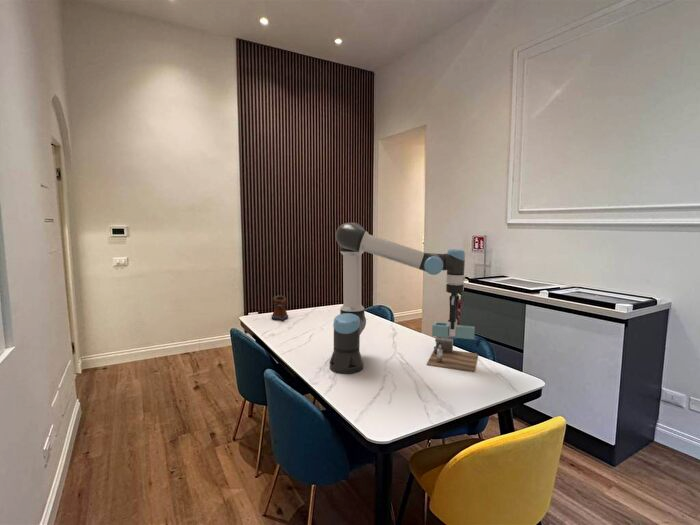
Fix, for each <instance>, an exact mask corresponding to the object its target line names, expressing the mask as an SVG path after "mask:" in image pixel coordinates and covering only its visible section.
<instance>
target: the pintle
mask: <svg viewBox="0 0 700 525" xmlns="http://www.w3.org/2000/svg"><path fill="white" fill-rule="evenodd" d="M437 362H438V363H442V349H441V345H439V349H437Z"/></svg>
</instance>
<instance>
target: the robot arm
mask: <svg viewBox="0 0 700 525" xmlns="http://www.w3.org/2000/svg"><path fill="white" fill-rule="evenodd" d="M335 231H336V232H335V239H336V240H335V241H336V242H337V244H338V245H339V252H340V253H341V255H342V260H343V261H342V264H343V265H342V269H343V270H342V272H343V274H342V276H343V279H342V280H343V281H342V282H343V283H342V284H343V288H342V290H343V298H342V299H343V305H342V306H341V307H340V309H339V310H340V312H339V314H338V315H336V316H334V318H333V324H332V325H333V326H332V327H333V351H332V355H331V358H330V360H329V369H330V371H332V372H333V373H334V372H335V373H338V374H346V375H347V374H356V373H359V372H361V371H363V369H364V361H363V357H362V355H361V350H360V340H361V339H360V338H361V337H360V336H361V334H362V332H363V331H364V330H365V328H366V325H367V318H366V315H365V313H366V312H365V307H364V306H363V305H362V254H364V253H365V252H366V253H369V254H372V255H375V256H378V257H381V258H384V259H387V260H390V261H393V262H396V263H399V264H402V265H406V266H408V267H412V268H415V269H418V270H420V271H423V272H425V273H427V274H429V275H432V276H436V275H438V274H440V273H441V272H442V271H446V280H445V281H446V282H445V283H446V286H445V287H446V288H445V290H446V291H445V292H446V293H448V294H450V296H449V319H448V320H447V323H450V326H449V336H455V335H456V325H458V320H459V317H458V316H459V313H458V312H459V304H460V303H459V300H460V296H459V294H463V293H464V282H465V280H466V277H465V265H466V264H465V263H466V256H465V254H466V252H465V251H464V250H463V249H456V248H455V249H452V248H451V249H448V250H447V252H446V253H432V252H431V253H429V252H427V253H426V252H424V251H421V250H419V249H415V248H411V247H409V246H406V245H403V244H400V243H396V242H394V241H393V242H392V241H390V240H388V239H384V238H381V237H378V236H375V235H373V234H369V232H368V231H367V230H365V228H364V227H363V226H362V225H361V224H359V223H357V222H354V221H353V222H345V223H342V224H341V225H339V226H338V228H337V229H336V230H335Z"/></svg>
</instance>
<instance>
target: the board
mask: <svg viewBox="0 0 700 525" xmlns="http://www.w3.org/2000/svg"><path fill="white" fill-rule="evenodd" d="M477 360H478V353H477V352H468V351H460V350H455V349H453V351H452V353H451V352H443V351H442V363H438V362H437V354H434V350H433V351H432V353H431V355H430V357H429V359H428V361H427V362H426V366H431V367H436V368H442V369H443V368H444V369H451V370H458V371H465V372H472V373H475V372H476V365H477Z"/></svg>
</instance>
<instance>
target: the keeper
mask: <svg viewBox="0 0 700 525" xmlns="http://www.w3.org/2000/svg"><path fill="white" fill-rule="evenodd" d="M434 341H435V346H433V351H434V354H437V349H439V345H441V349H442V351H443V352H451V353H452V351H453V350H454V337H448V338H445V337H437V336H435V340H434Z"/></svg>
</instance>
